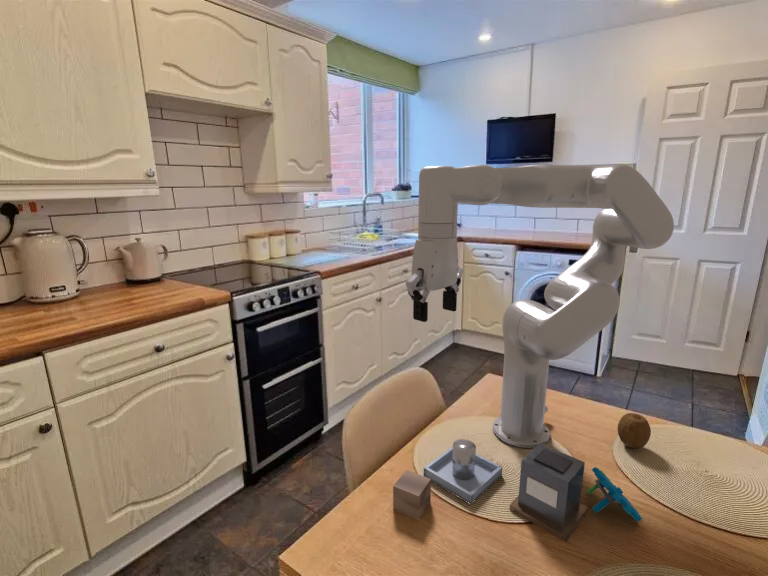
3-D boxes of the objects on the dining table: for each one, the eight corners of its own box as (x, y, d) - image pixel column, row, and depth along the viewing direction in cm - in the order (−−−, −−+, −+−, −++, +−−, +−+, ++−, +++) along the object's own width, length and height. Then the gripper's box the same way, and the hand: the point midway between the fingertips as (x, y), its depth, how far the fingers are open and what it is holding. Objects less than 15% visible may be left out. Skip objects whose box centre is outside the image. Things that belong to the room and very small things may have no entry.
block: (406, 492, 79) (406, 469, 77) (430, 502, 76) (430, 478, 75) (393, 509, 74) (393, 486, 73) (418, 521, 72) (418, 496, 71)
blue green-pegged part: (656, 529, 68) (612, 485, 68) (627, 551, 68) (584, 507, 69) (625, 490, 78) (588, 452, 79) (600, 509, 79) (563, 471, 79)
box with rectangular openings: (532, 484, 80) (537, 436, 78) (586, 511, 74) (593, 460, 71) (509, 509, 74) (513, 458, 72) (566, 541, 67) (572, 487, 65)
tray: (456, 451, 90) (456, 443, 90) (501, 475, 83) (502, 466, 82) (423, 476, 83) (423, 467, 82) (470, 505, 75) (471, 495, 75)
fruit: (652, 448, 91) (658, 415, 89) (640, 459, 88) (645, 425, 86) (623, 435, 96) (627, 403, 94) (610, 445, 92) (614, 412, 90)
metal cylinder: (460, 463, 86) (462, 436, 85) (478, 473, 83) (480, 446, 81) (447, 472, 83) (448, 445, 82) (465, 483, 80) (466, 455, 78)
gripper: (447, 227, 90) (445, 303, 94) (393, 233, 78) (393, 320, 82) (477, 229, 85) (474, 309, 89) (424, 237, 73) (422, 329, 77)
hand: (435, 315), depth 86 cm, fingers open, 9 cm apart
